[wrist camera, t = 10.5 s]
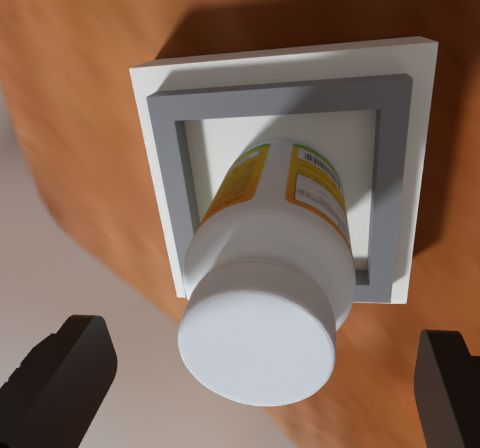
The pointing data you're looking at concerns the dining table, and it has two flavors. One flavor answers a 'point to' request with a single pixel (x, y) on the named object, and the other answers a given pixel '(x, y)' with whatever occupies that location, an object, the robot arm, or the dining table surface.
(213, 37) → the dining table surface
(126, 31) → the dining table surface
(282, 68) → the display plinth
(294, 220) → the supplement bottle
